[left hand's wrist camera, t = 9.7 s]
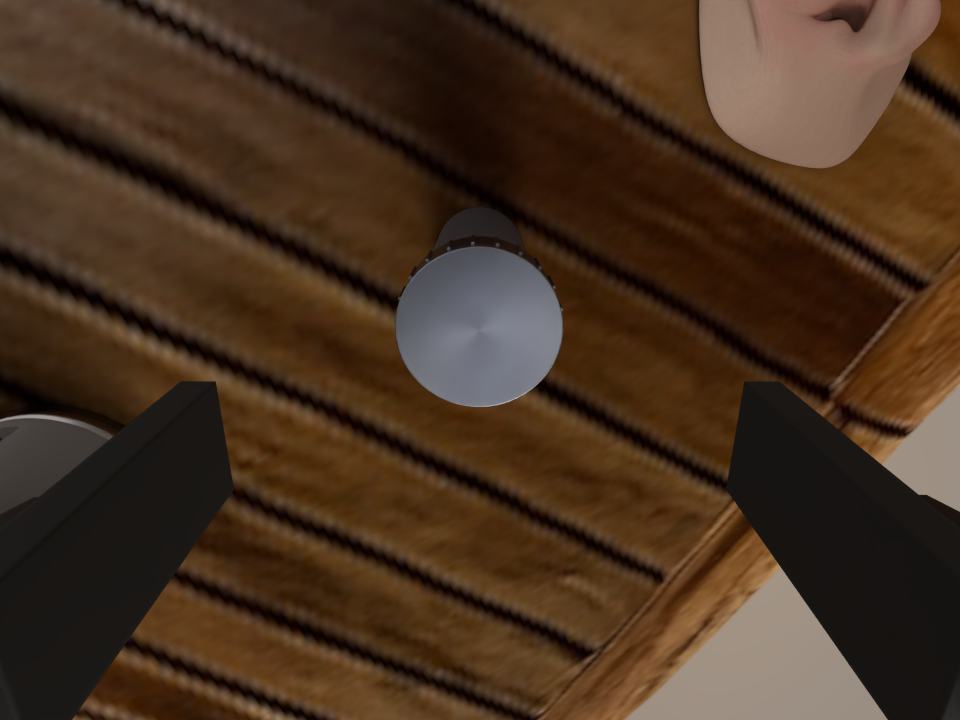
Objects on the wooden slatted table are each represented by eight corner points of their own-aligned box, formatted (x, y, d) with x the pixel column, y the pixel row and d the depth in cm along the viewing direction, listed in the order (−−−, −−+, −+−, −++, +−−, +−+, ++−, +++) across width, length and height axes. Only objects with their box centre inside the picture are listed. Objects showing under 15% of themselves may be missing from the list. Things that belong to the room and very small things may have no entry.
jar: (421, 233, 35) (380, 299, 20) (496, 190, 34) (509, 228, 20) (463, 306, 36) (452, 415, 22) (536, 267, 35) (574, 353, 21)
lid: (370, 283, 22) (359, 298, 20) (512, 204, 21) (516, 211, 19) (449, 409, 24) (446, 435, 22) (583, 341, 23) (593, 362, 21)
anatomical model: (934, 171, 29) (703, 172, 29) (883, 167, 33) (679, 168, 33) (1018, -161, 25) (744, -159, 25) (948, -122, 29) (710, -120, 29)
